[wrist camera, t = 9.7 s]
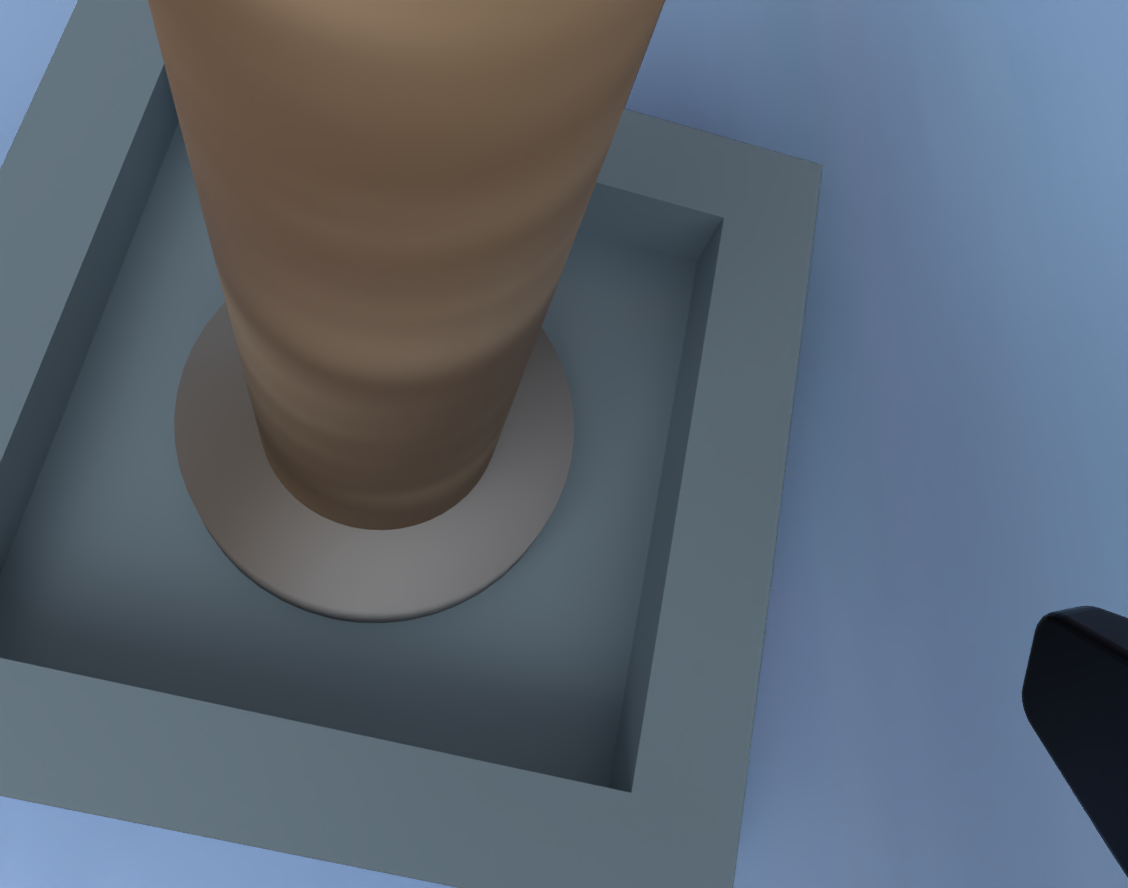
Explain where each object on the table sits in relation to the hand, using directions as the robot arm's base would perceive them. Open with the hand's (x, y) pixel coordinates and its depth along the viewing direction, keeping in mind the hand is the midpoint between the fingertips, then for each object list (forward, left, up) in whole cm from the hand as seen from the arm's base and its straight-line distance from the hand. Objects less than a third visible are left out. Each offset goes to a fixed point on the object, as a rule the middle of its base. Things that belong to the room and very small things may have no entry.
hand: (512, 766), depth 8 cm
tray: (+2, -5, -9) cm, 11 cm away
